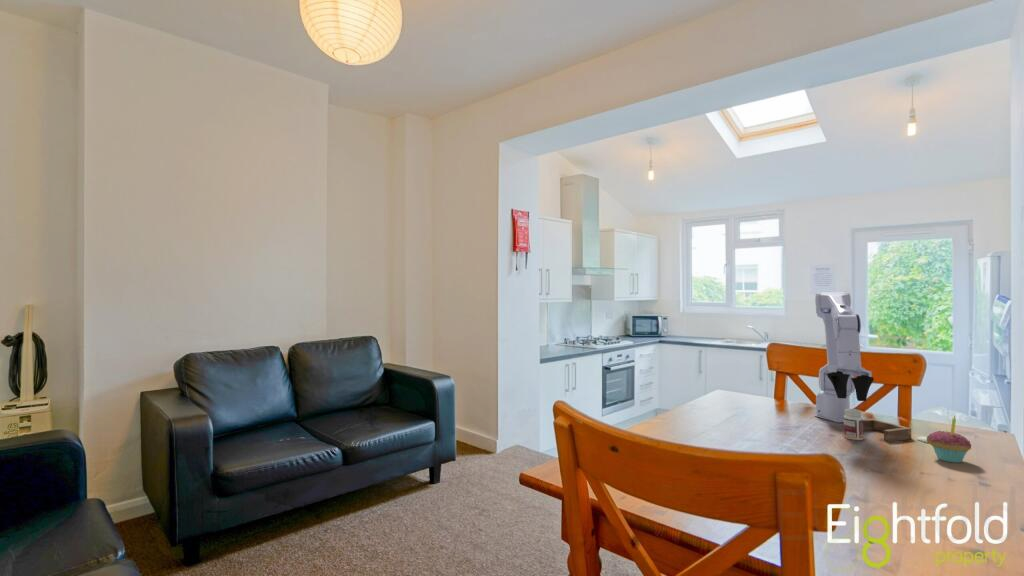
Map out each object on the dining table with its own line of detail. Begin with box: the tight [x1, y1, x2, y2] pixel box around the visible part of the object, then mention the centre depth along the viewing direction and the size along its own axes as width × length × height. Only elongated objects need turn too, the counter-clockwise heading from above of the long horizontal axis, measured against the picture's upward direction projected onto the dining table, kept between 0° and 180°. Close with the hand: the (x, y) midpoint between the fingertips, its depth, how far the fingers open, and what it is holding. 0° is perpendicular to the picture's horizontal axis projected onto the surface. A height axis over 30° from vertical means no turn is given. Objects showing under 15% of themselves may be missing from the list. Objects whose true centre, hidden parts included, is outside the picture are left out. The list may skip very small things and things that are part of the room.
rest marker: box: [916, 436, 929, 444], centre depth 138 cm, size 6×6×1 cm
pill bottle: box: [843, 408, 864, 441], centre depth 141 cm, size 5×5×8 cm
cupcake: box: [926, 415, 972, 464], centre depth 123 cm, size 9×8×12 cm
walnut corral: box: [863, 418, 912, 443], centre depth 144 cm, size 11×9×3 cm
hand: (851, 399), depth 139 cm, fingers open, 7 cm apart
